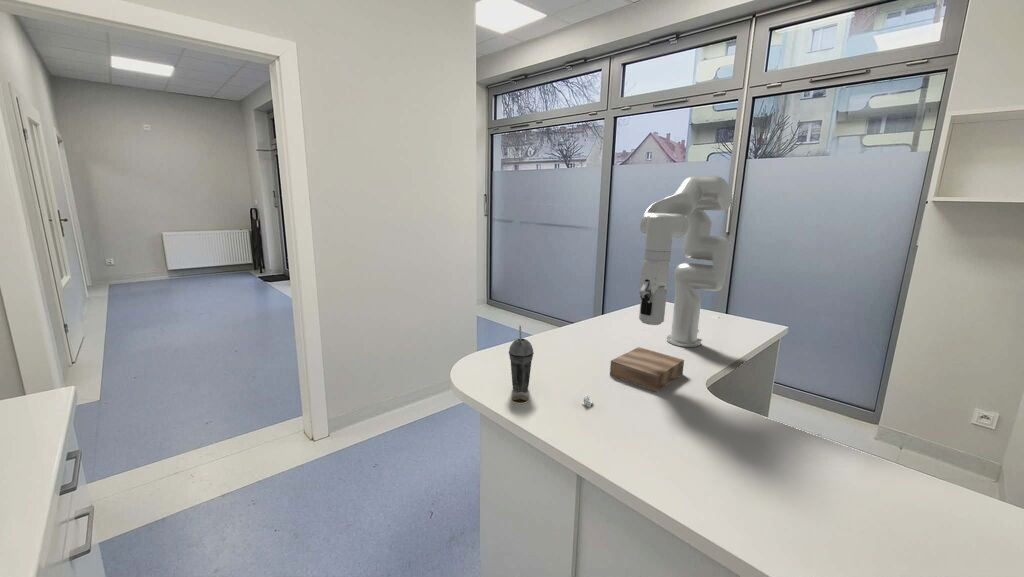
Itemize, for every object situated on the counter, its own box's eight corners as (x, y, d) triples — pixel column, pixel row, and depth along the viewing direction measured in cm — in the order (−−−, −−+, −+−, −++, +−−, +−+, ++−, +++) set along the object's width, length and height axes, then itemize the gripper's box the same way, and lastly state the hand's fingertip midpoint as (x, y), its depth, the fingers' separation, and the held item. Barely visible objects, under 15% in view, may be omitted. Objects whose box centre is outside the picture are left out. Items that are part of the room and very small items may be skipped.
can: (635, 318, 136) (638, 282, 133) (657, 318, 136) (661, 282, 134) (644, 326, 129) (647, 287, 126) (667, 325, 129) (671, 287, 127)
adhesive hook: (586, 403, 118) (587, 392, 118) (594, 406, 116) (595, 396, 116) (580, 406, 116) (581, 396, 115) (588, 410, 114) (589, 399, 114)
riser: (637, 360, 148) (638, 347, 147) (682, 374, 137) (684, 359, 136) (609, 375, 136) (610, 360, 134) (656, 391, 125) (658, 376, 124)
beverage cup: (536, 386, 127) (538, 322, 122) (526, 396, 120) (528, 330, 116) (514, 381, 130) (515, 319, 125) (503, 391, 123) (504, 326, 119)
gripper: (658, 252, 136) (653, 304, 140) (631, 257, 124) (627, 314, 128) (681, 254, 131) (675, 309, 135) (655, 260, 119) (650, 320, 123)
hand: (652, 311), depth 132 cm, fingers closed on can, 7 cm apart
